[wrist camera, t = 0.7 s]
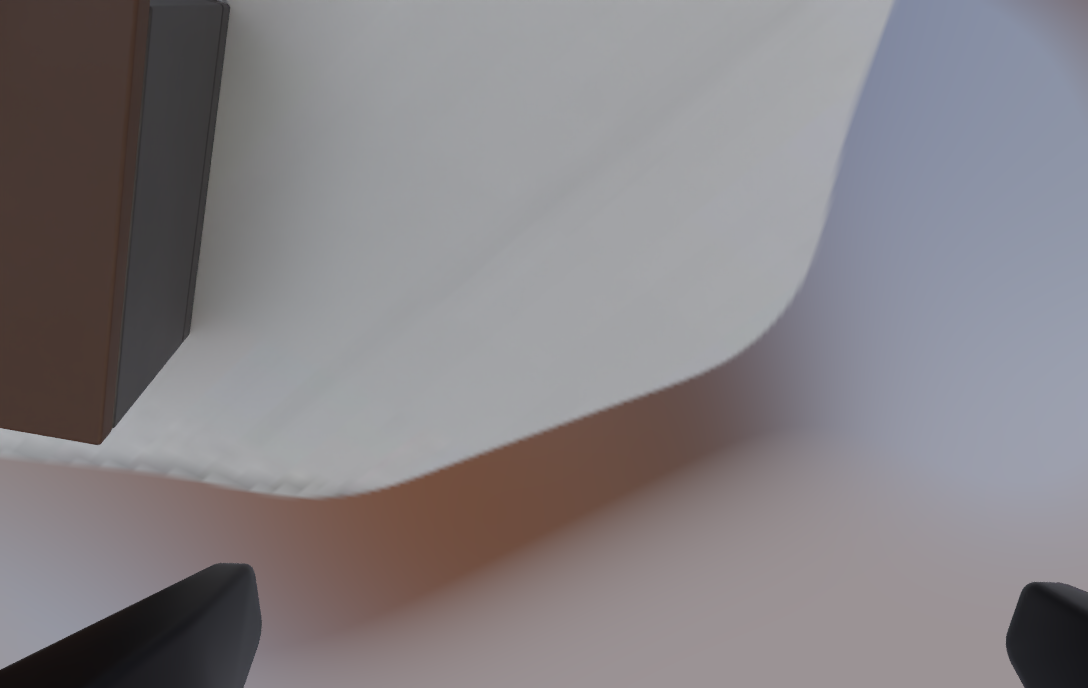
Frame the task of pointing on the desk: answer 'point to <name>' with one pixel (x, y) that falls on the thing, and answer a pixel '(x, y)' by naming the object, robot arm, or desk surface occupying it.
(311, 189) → the desk surface
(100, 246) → the lid
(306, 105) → the desk surface
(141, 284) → the dark grey box
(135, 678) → the robot arm
